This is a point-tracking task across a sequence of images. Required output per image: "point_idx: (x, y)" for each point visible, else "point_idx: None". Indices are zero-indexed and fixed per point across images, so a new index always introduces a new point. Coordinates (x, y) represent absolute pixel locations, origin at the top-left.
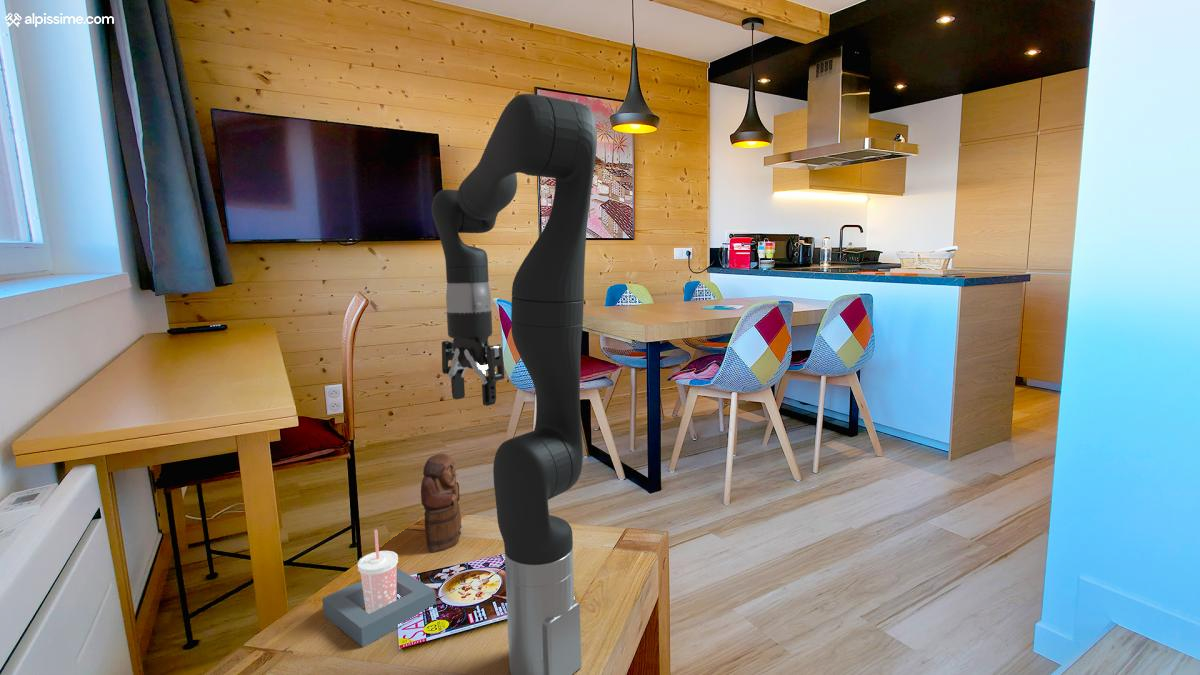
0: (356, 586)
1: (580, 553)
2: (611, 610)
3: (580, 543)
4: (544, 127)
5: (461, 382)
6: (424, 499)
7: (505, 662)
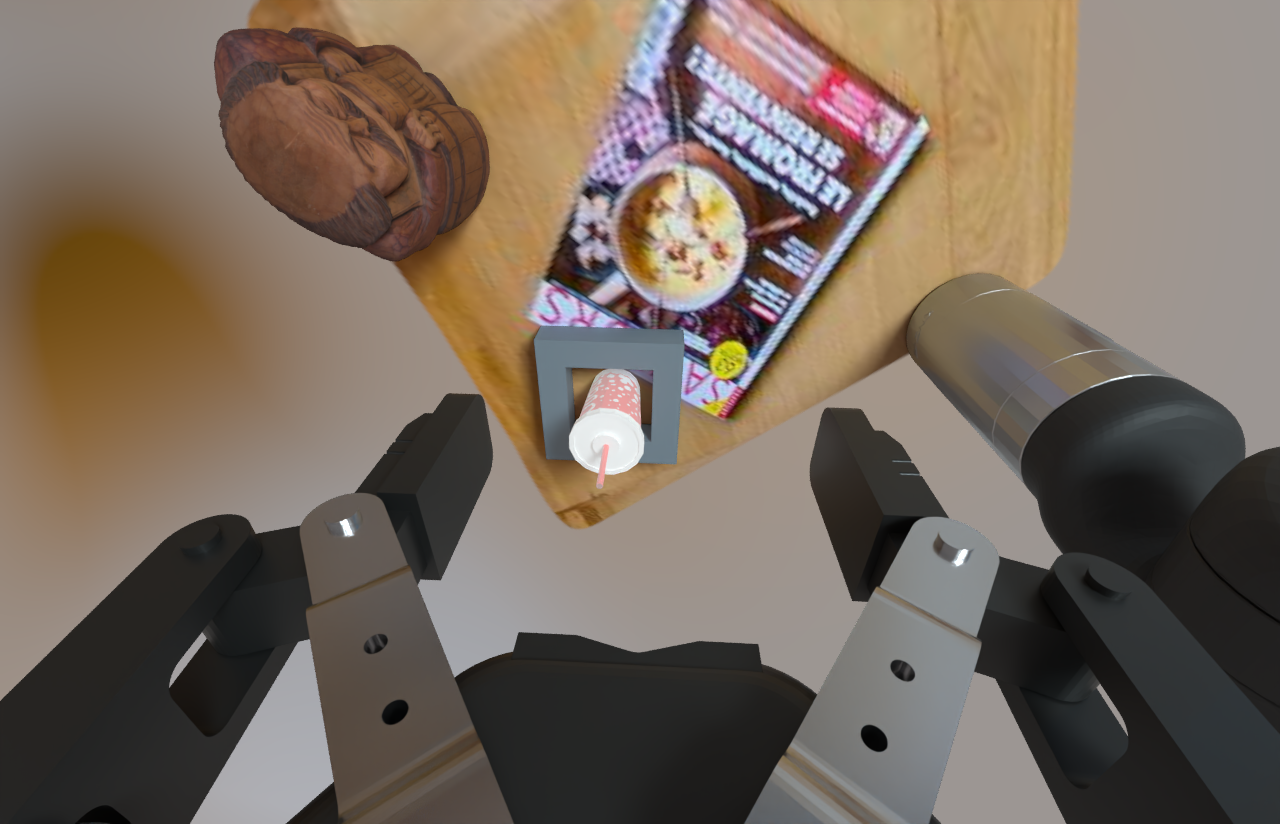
0: (554, 415)
1: None
2: (1035, 109)
3: None
4: None
5: (439, 488)
6: (419, 249)
7: (897, 353)
